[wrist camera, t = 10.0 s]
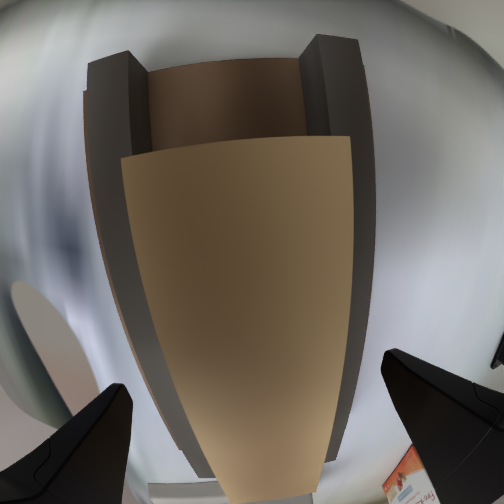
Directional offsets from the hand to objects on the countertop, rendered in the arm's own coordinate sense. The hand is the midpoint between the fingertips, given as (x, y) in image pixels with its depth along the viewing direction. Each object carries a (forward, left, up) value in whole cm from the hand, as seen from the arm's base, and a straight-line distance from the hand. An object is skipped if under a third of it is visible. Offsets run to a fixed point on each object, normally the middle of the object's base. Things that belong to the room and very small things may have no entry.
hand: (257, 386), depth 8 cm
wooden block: (0, 0, -4) cm, 4 cm away
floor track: (0, 0, -5) cm, 5 cm away
